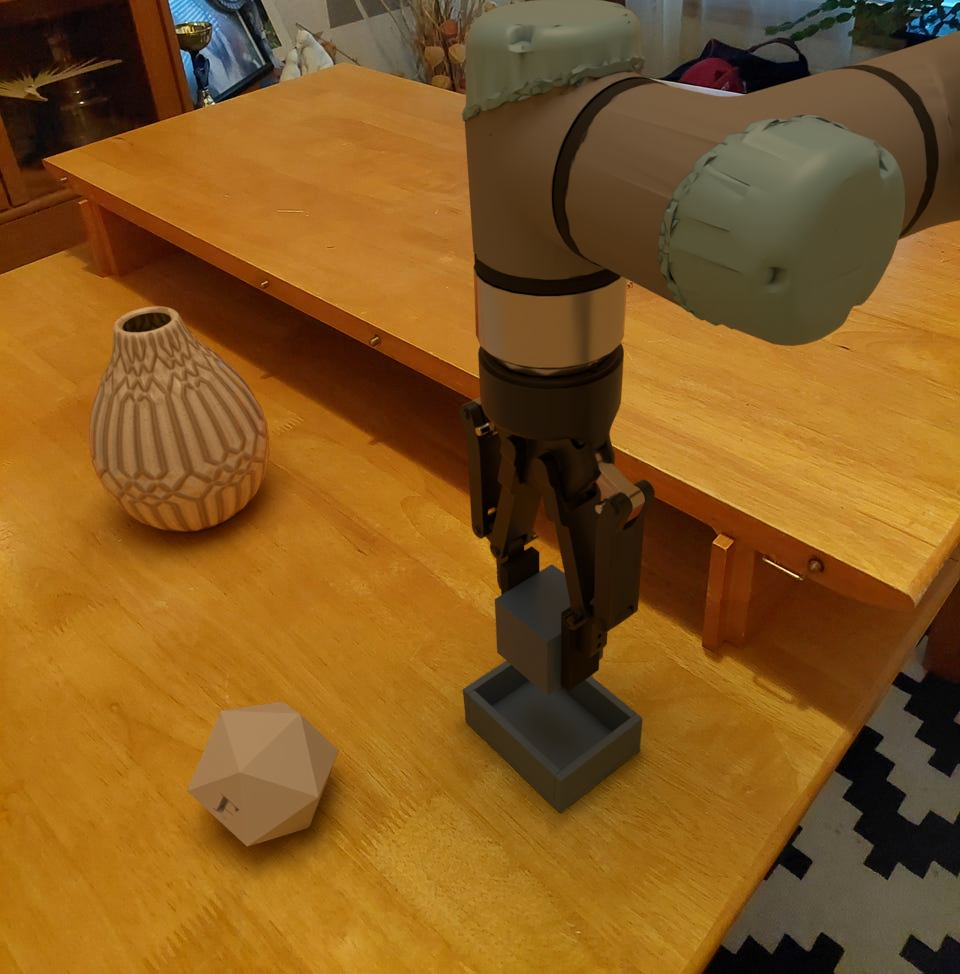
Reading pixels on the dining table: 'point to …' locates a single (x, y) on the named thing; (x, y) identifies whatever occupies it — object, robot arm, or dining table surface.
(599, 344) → the robot arm
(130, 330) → the vase
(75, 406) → the dining table surface
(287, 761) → the die
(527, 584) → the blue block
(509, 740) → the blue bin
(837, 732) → the dining table surface
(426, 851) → the dining table surface
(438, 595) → the dining table surface
